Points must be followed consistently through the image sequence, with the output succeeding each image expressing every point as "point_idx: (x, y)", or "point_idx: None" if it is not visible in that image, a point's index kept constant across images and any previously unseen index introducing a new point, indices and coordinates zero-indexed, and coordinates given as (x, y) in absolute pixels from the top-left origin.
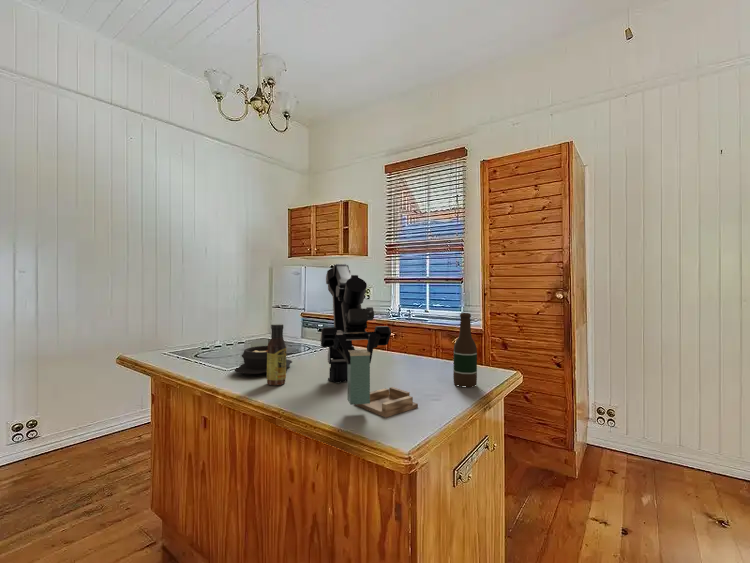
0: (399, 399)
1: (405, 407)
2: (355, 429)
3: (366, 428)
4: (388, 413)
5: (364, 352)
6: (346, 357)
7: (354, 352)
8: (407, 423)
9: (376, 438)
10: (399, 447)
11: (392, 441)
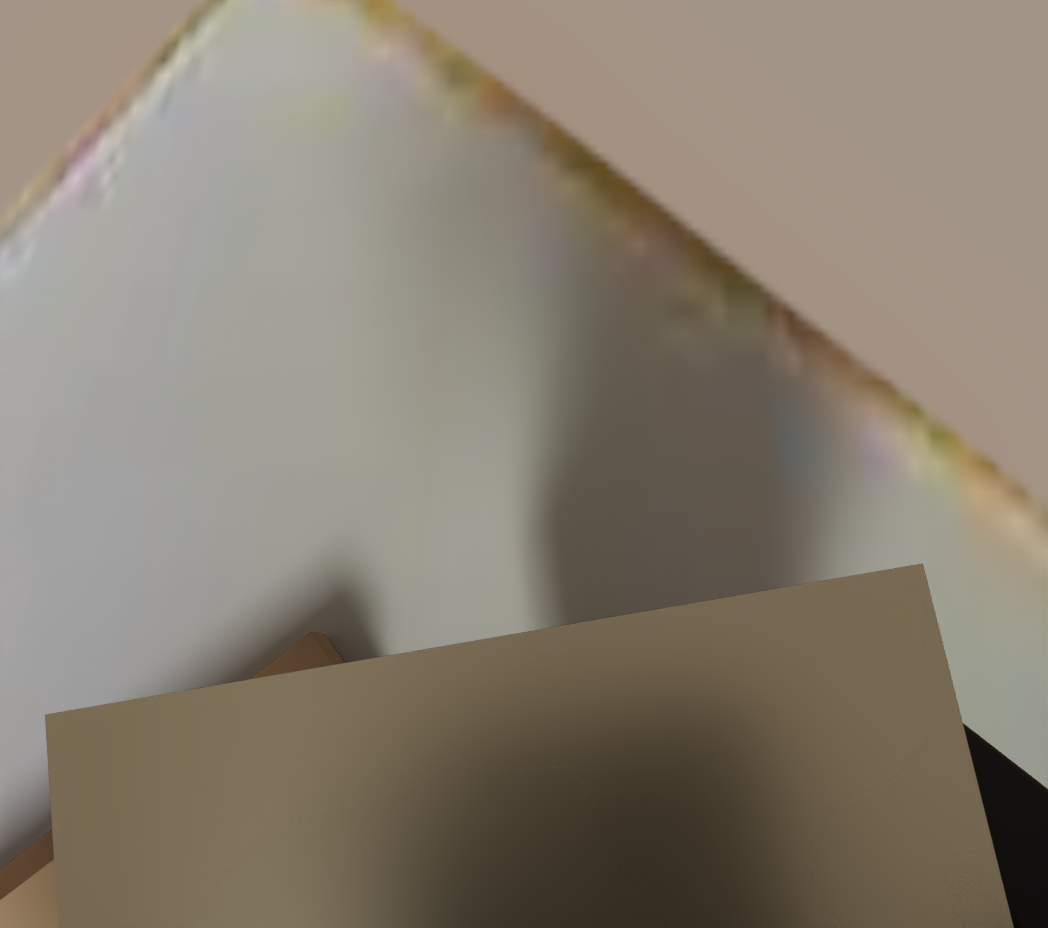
0: (54, 908)
1: (47, 834)
2: (651, 327)
3: (544, 350)
4: (277, 658)
5: (285, 675)
6: (1038, 806)
7: (729, 706)
8: (142, 467)
9: (469, 145)
10: (312, 4)
11: (347, 96)
